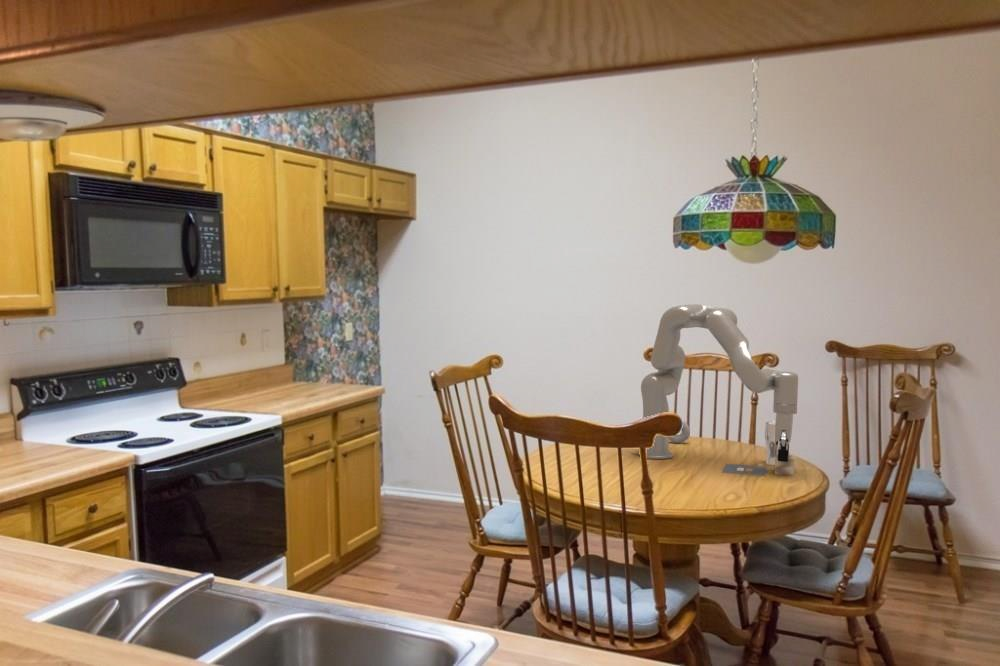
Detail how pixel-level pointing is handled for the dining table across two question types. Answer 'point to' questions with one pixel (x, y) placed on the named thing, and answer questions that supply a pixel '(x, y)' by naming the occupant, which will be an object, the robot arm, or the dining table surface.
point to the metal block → (784, 466)
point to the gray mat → (745, 469)
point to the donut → (683, 435)
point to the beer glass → (771, 443)
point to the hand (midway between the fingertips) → (783, 458)
